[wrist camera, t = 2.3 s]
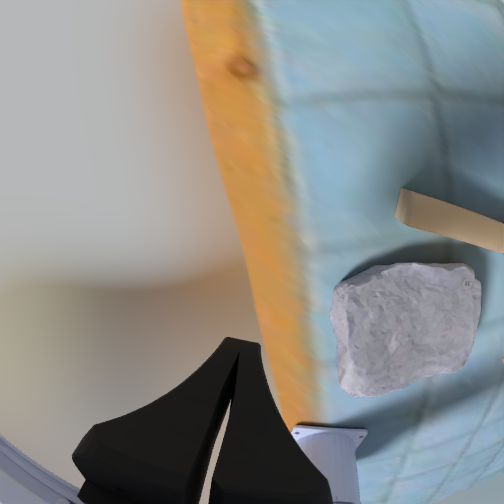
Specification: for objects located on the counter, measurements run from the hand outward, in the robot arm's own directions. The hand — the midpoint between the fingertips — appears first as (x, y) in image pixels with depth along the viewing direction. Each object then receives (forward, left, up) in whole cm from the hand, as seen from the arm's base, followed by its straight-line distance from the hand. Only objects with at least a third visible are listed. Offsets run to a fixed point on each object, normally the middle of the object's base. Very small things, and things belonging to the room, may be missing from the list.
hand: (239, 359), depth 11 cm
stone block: (-2, -11, -10) cm, 15 cm away
